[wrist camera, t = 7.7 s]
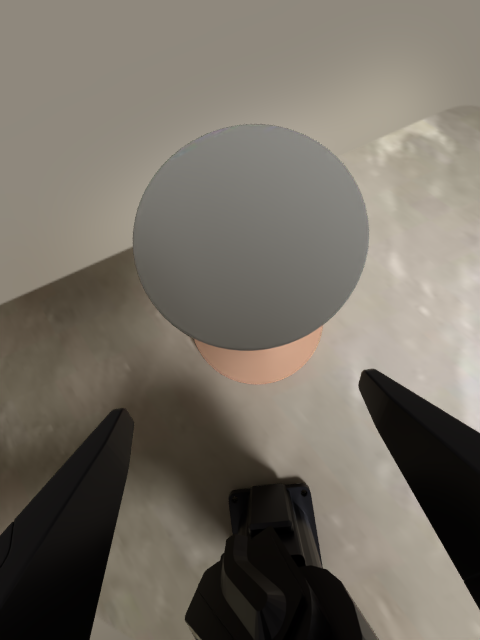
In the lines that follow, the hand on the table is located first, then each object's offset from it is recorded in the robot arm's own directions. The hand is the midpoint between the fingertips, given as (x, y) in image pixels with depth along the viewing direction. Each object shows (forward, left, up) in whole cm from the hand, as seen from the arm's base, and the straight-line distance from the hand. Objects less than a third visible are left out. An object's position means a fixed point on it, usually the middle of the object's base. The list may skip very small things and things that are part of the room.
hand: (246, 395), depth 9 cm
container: (+4, -1, -10) cm, 11 cm away
